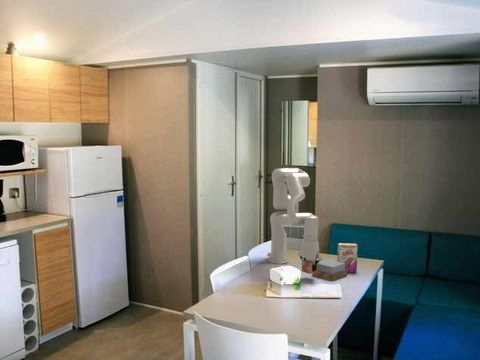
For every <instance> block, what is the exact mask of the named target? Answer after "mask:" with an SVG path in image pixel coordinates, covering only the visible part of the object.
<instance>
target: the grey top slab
mask: <svg viewBox="0 0 480 360" xmlns="http://www.w3.org/2000/svg"><path fill="white" fill-rule="evenodd" d="M317 270H318V271H321V272H325V273H329V274H335V273H338V272H341V271H344V270H345V263H341V262H337V261H335V260H332V259H324V260H323V259H322V260H321V261H320V262H319V263H318V264H317Z"/></svg>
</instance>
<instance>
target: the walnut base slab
mask: <svg viewBox="0 0 480 360" xmlns="http://www.w3.org/2000/svg"><path fill="white" fill-rule="evenodd" d="M311 276H312V277H315V278H319V279H322V280H323V279H324V280H328V281H331V282H335V281H337V280H339V279H343V278H346V277H348V272H347V270H344V271H341V272H338V273H335V274H329V273H325V272H321V271H318V270H317V272H315V273H312V274H311Z"/></svg>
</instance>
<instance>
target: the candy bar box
mask: <svg viewBox="0 0 480 360" xmlns="http://www.w3.org/2000/svg"><path fill="white" fill-rule="evenodd" d="M358 249H359V246H358V244H357V243H345V242H344V243H343V242H342V243H341V242H340V243H339V242H338V243H337V261H336V262H341V263H345V270H347V273H352V274H353V273H355V274H356V273H357V272H358V271H357V270H358V269H357V268H358V254H359V253H358Z"/></svg>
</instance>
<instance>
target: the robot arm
mask: <svg viewBox="0 0 480 360" xmlns="http://www.w3.org/2000/svg"><path fill="white" fill-rule="evenodd" d="M271 182H272V187H273V195H272V198H273V199H272V201H273V202H272V205H273V208H274V209H275V210H277V211H276V212H273V213H271V215H270V217H269V218H270V220H269V221H270V227H271V228H270V229H271V241H270V242H271V245H270V247H271V248H270V249H271V251H270V252H268V253H267V254H266V256H267V257H269V258H268V262H269V263H272V264H276V265H279V264H281V265H284V264H287V263H289V259H288V258H287V240H288V239H287V238H288V237H287V235H288V234H287V232H286V230H285V228H287V227H295V228H297V227H303V234H302V235H301V236H302V237H303V238H302V240H301V245H300V250H299V252H298V253H297V255H298V257H299V259H300V260H301V262H302V261H303V260H306V259H311V260H312V261H313V265H312V272H314V271H316V269H317V264H318V263H319V262H320V261H323V258H322V256H321V255H320V244H319V240H318V237H319V236H318V235H319V217H318V216H317V215H314V214H313V213H312V212H299V202H301V201H303V200H304V199H305V198H306V193H305V189H304V188H307V187H309V186H310V183H311V177H310V176H309V174H308V173H307V172H306V171H304V170H302V169H301V168H298V167H281V168H275V169H274V170H273V171H272V173H271ZM288 193H289V194H288ZM279 210H280V211H279ZM281 210H282V211H281ZM285 210H286V211H285Z"/></svg>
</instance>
